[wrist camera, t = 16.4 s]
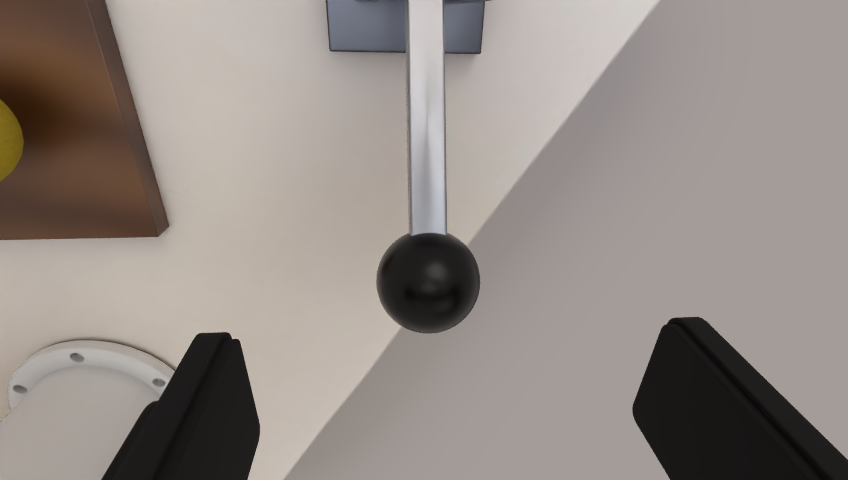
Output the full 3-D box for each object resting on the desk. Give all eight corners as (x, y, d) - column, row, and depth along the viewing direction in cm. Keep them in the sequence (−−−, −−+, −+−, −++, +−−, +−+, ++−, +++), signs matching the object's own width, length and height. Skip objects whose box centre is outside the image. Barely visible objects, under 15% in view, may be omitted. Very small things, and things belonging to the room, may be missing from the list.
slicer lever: (469, 317, 15) (491, 344, 12) (378, 321, 15) (376, 349, 12) (465, -95, 14) (487, -184, 11) (369, -100, 14) (364, -193, 11)
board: (169, 226, 27) (158, 237, 26) (-37, 229, 26) (-59, 241, 25) (95, -34, 21) (75, -38, 19) (-185, -44, 20) (-225, -48, 18)
